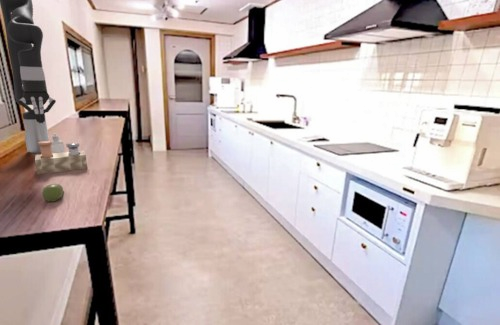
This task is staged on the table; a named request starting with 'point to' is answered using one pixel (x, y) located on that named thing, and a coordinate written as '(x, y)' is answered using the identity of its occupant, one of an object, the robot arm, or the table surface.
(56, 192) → the green rounded lump
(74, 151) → the steel plunger
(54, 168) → the beige rectangular block
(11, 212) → the table surface
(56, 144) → the eye dropper bottle
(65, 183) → the table surface
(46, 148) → the terracotta plunger
